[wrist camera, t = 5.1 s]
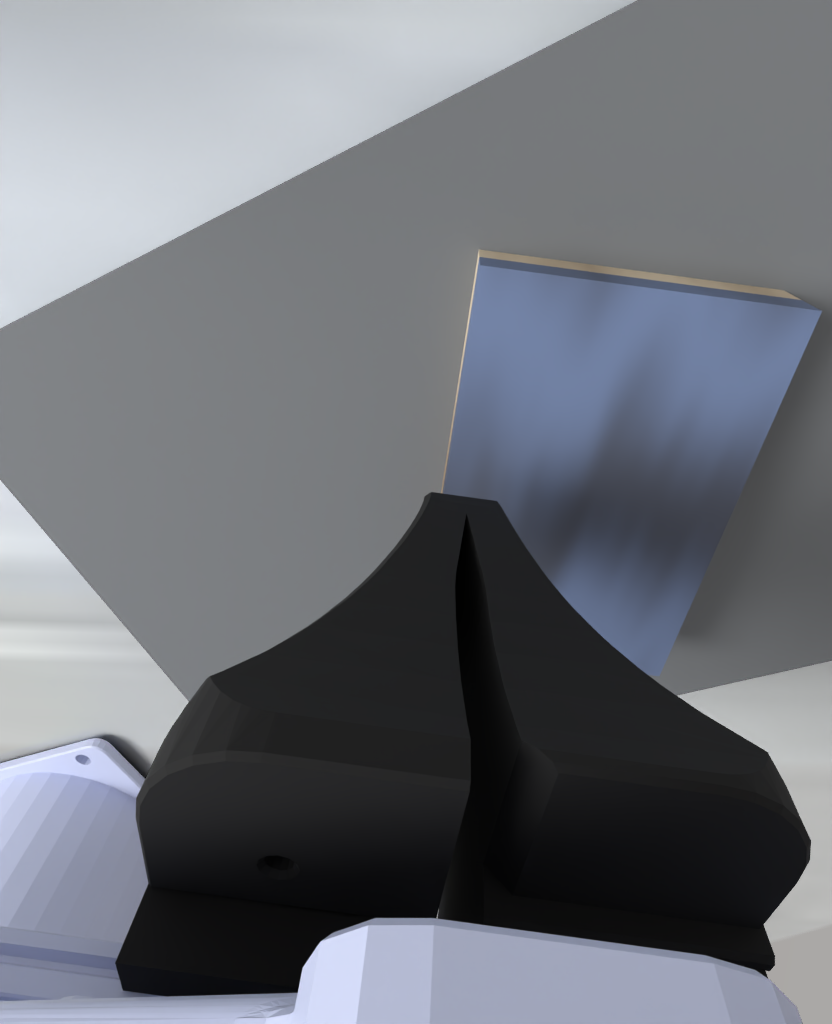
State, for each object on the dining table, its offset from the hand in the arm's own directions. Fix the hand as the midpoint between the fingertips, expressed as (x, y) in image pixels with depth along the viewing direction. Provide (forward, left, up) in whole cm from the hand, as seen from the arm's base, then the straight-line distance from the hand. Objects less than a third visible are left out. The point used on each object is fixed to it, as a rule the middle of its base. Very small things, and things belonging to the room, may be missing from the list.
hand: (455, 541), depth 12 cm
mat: (-1, -1, -4) cm, 4 cm away
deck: (0, 0, -3) cm, 3 cm away
